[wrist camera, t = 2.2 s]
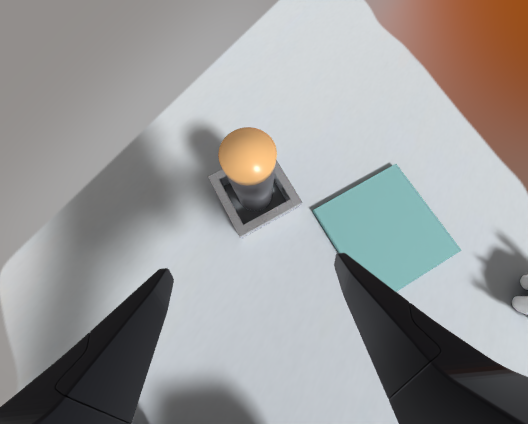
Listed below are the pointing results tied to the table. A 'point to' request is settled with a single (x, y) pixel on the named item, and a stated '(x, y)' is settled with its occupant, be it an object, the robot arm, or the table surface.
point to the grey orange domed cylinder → (249, 166)
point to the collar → (243, 230)
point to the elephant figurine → (522, 297)
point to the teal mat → (387, 229)
